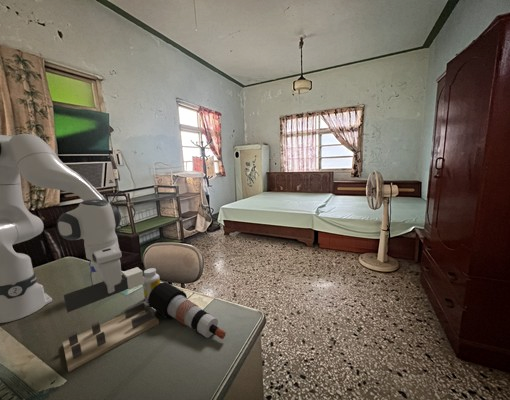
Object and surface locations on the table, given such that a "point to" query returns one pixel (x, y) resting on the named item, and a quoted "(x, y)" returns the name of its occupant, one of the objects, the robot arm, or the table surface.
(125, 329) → the clip board
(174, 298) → the cable
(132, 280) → the bar
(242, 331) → the table surface
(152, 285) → the supplement bottle
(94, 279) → the water bottle
